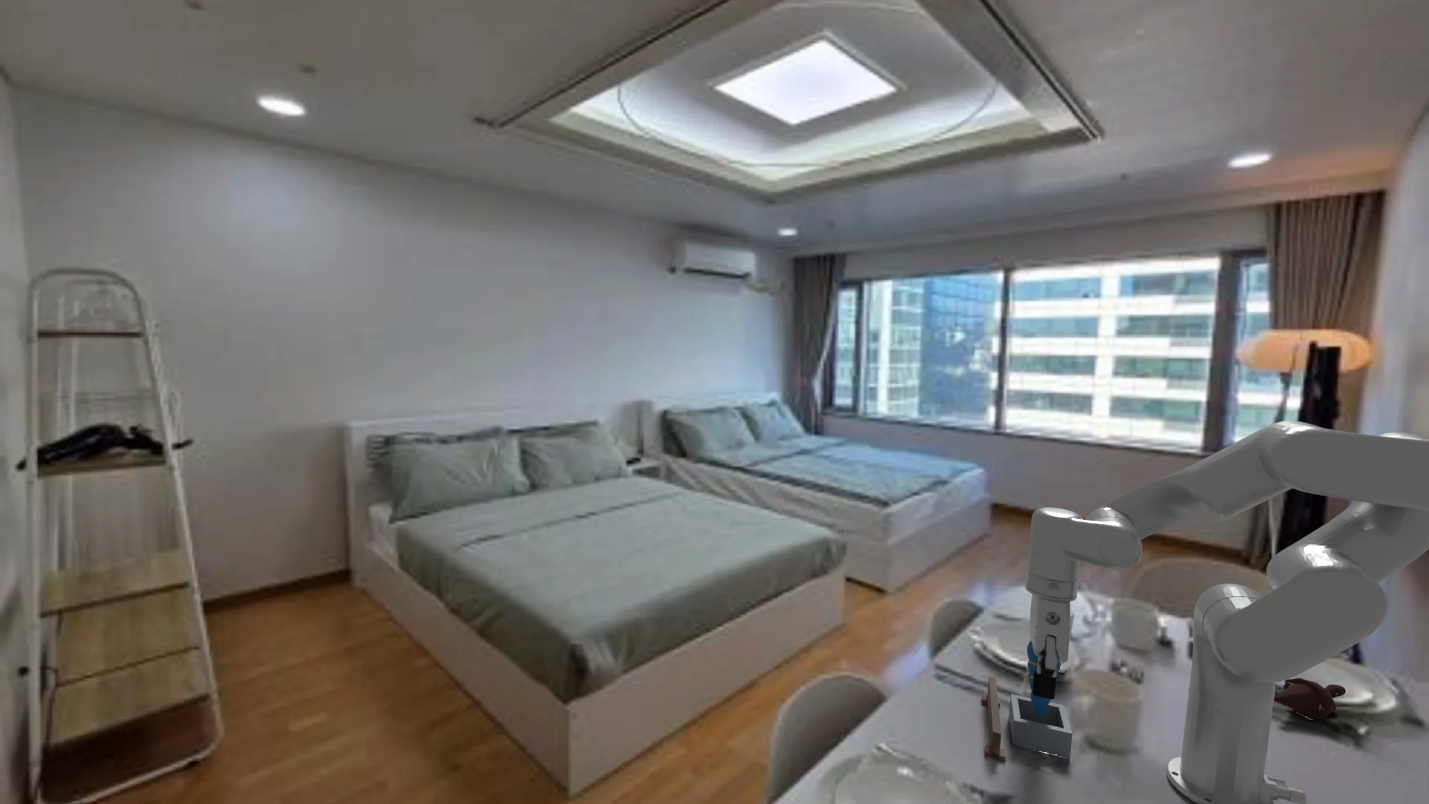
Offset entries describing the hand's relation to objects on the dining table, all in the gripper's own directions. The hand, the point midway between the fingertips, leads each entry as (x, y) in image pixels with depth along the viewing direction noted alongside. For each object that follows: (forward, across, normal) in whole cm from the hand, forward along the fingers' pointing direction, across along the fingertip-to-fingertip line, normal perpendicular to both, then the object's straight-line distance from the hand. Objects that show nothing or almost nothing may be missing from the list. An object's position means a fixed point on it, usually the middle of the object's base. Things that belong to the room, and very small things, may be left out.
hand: (1041, 687), depth 104 cm
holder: (+9, 0, 0) cm, 9 cm away
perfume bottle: (+9, +27, -6) cm, 29 cm away
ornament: (+6, 0, 0) cm, 6 cm away
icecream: (+9, +28, -47) cm, 55 cm away
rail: (+9, 0, +7) cm, 11 cm away
